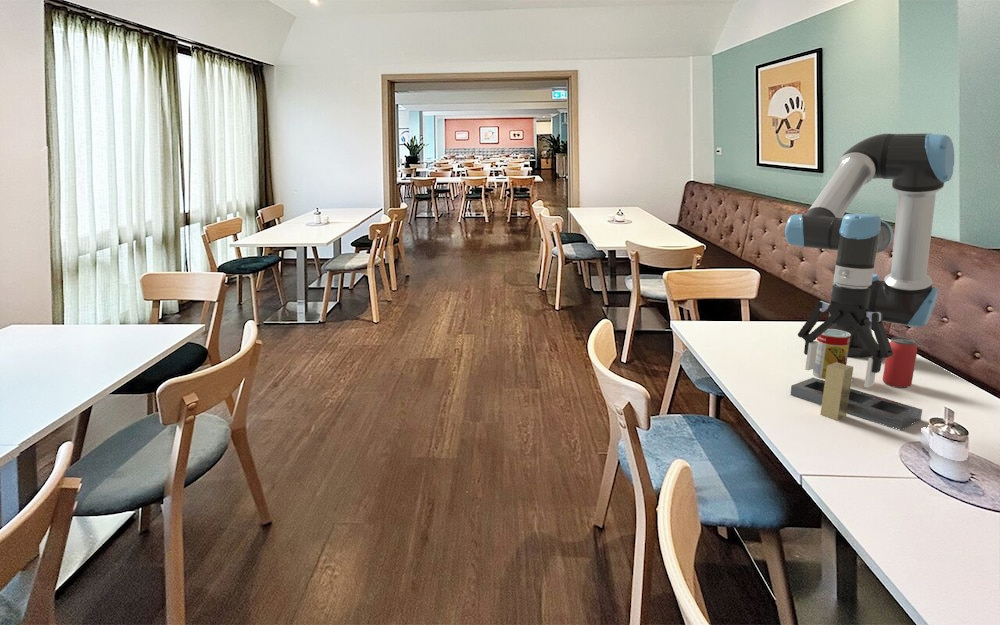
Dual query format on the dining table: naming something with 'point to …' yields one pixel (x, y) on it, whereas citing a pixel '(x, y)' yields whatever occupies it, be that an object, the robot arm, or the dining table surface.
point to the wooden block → (836, 391)
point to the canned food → (831, 350)
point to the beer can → (900, 363)
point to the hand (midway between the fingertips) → (838, 377)
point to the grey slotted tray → (862, 404)
